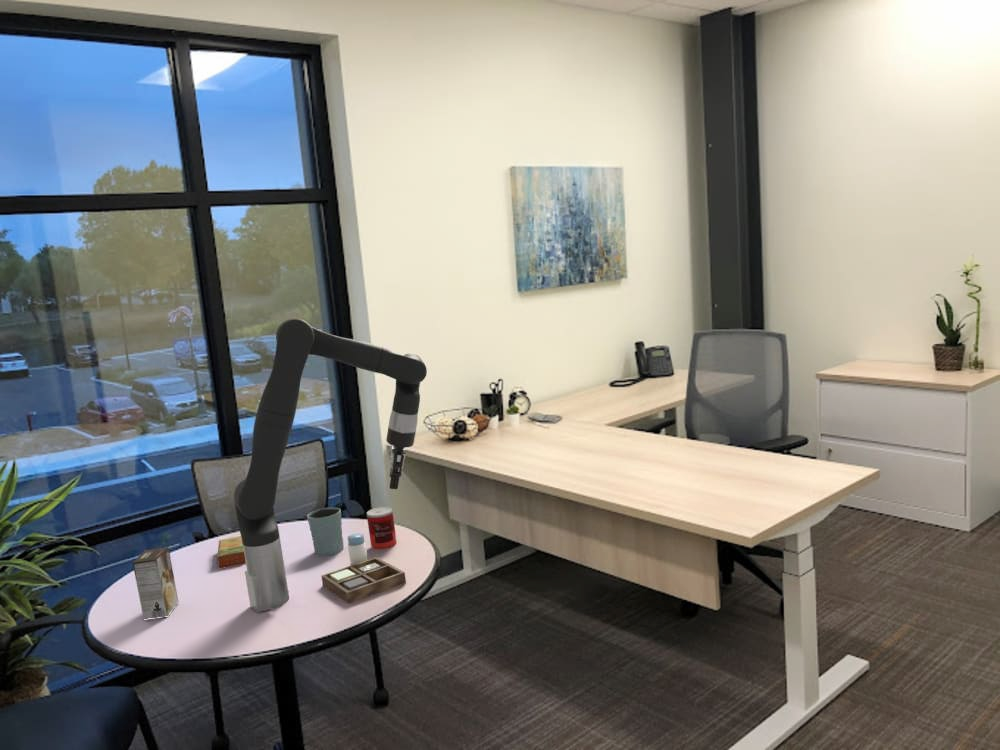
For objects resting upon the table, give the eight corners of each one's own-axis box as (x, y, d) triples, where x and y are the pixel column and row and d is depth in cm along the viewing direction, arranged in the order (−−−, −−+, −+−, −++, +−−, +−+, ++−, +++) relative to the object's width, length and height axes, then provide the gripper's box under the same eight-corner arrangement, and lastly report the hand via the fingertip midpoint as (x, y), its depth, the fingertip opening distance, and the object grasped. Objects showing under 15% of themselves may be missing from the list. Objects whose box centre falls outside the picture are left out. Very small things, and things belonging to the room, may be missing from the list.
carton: (248, 547, 256) (246, 534, 256) (247, 564, 241) (245, 550, 240) (220, 552, 254) (218, 539, 253) (218, 569, 239) (216, 556, 238)
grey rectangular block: (365, 580, 215) (364, 571, 215) (359, 577, 218) (358, 568, 218) (381, 574, 218) (380, 565, 218) (376, 571, 221) (374, 562, 221)
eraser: (351, 598, 204) (349, 587, 204) (344, 594, 208) (343, 583, 207) (369, 592, 207) (367, 581, 207) (362, 588, 211) (360, 577, 210)
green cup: (319, 559, 237) (313, 520, 235) (307, 550, 246) (302, 513, 244) (351, 549, 242) (345, 511, 240) (339, 541, 251) (333, 504, 249)
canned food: (384, 539, 248) (379, 505, 246) (402, 543, 243) (397, 508, 241) (365, 548, 242) (360, 513, 240) (383, 552, 237) (378, 516, 235)
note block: (339, 590, 210) (337, 579, 210) (331, 585, 215) (330, 574, 214) (356, 584, 213) (355, 573, 213) (348, 579, 217) (347, 569, 217)
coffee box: (155, 606, 215) (144, 549, 213) (179, 603, 216) (169, 546, 213) (142, 621, 206) (131, 562, 204) (168, 618, 207) (157, 558, 204)
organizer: (349, 605, 202) (347, 592, 201) (323, 588, 215) (321, 575, 215) (406, 584, 211) (404, 572, 210) (378, 569, 224) (376, 557, 224)
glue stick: (356, 573, 223) (351, 540, 222) (348, 568, 227) (344, 536, 226) (371, 567, 226) (367, 535, 224) (364, 563, 230) (359, 531, 228)
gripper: (388, 417, 224) (380, 472, 228) (388, 433, 211) (379, 490, 214) (415, 421, 226) (406, 475, 229) (416, 436, 212) (407, 494, 215)
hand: (393, 482), depth 222 cm, fingers open, 8 cm apart
